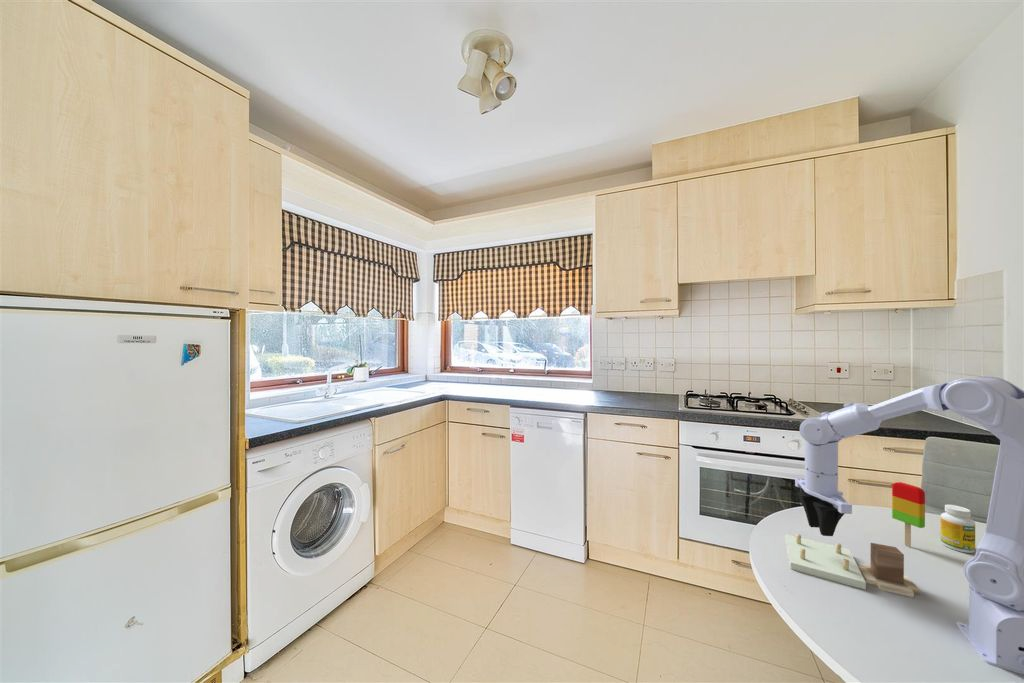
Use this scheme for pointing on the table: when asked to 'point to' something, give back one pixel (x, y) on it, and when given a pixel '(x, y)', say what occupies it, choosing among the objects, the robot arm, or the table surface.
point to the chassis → (823, 561)
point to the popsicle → (908, 507)
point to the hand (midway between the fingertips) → (820, 530)
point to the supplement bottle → (958, 529)
